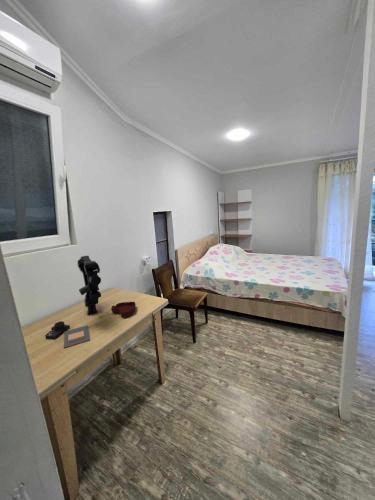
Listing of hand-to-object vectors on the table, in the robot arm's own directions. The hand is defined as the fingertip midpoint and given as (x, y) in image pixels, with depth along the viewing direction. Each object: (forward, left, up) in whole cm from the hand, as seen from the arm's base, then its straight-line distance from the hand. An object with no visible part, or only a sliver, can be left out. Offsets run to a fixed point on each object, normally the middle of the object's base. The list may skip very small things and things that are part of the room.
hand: (95, 303), depth 136 cm
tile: (+11, -13, -12) cm, 21 cm away
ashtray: (-4, +20, -14) cm, 24 cm away
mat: (+11, -13, -13) cm, 21 cm away
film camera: (+1, -23, -14) cm, 27 cm away
